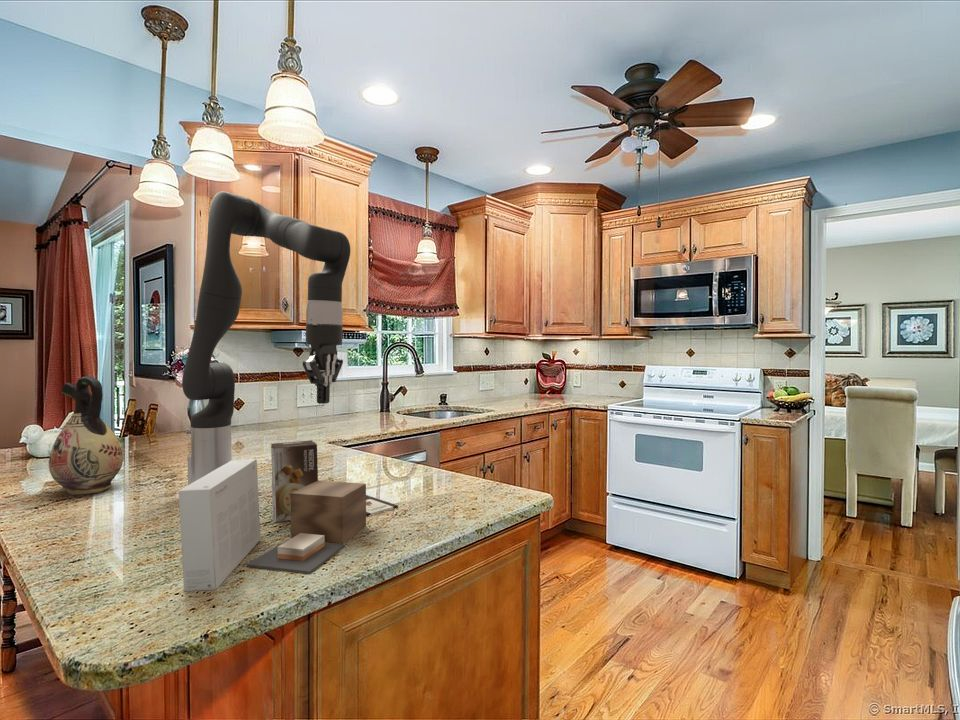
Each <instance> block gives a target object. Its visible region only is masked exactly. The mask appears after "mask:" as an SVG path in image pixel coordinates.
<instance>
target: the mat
mask: <svg viewBox="0 0 960 720" xmlns="http://www.w3.org/2000/svg"><path fill="white" fill-rule="evenodd" d="M290 539H291V538H288V539H286V540H284V541H283V542H281V543H279V544H278V545H276V546H274V547H273V548H270V549H269V550H267V551H266V552H264V553H263V554H261V555H259V556H257V557H256V558H255V559H253V560H250V561H249V562H248V563H247V564H246V565H245V566H246V567H247V568H257V569H265V570H275V571H282V572H283V571H284V572H290V573H292V572H293V573H301V574H308V575H309V574H312V573H313V572H314V571H315V570H317V569H318V568H319V567H320V566H322V565H324V563H326V562H327V561H329V560H330V559H331V558H332V557H334V556H335V555H336V554H337V553H339V552H340V551H341V550H343V549H344V548H345V547H346V545H345V543H344V544H334V543H325V546H324V547H322V548H321V549H320V550H318V551H317V552H315V553H314V554H312V555H311V556H310V557H308V558H307V559H305V560H304V561H299V560H290V559H281V558H278V546H280V545H282V544H283V543H285V542H287V541H288V540H290Z"/></svg>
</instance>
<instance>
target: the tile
mask: <svg viewBox="0 0 960 720" xmlns="http://www.w3.org/2000/svg"><path fill="white" fill-rule="evenodd" d="M289 539H290V540H288V541H287V542H285V543H283V544H282V545H280V546H278V545H277V546H278V558H281V559H290V560H299V561H304V560H305V559H307V558H308V557H310V556H311V555H312V554H314V553H315V552H317V551H318V550H320V549H321V548H322V547H324V546H325V535H316V534H305V533H300V534H298V535H296V536H295V537H293V538H291V537H290V538H289Z"/></svg>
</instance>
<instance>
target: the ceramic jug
mask: <svg viewBox="0 0 960 720" xmlns="http://www.w3.org/2000/svg"><path fill="white" fill-rule="evenodd" d="M89 388H90V389H89ZM89 390H90V391H89ZM103 393H104V392H103V385H102V383H101V381H100V380H99V379H97V378H95V377H94V376H91V375H85V376H82V377H80V378H78V379H77V381H76V384H75V385H74V384H73V383H71V382H66V383H64V385H63V386H61V394H63V395H65V396H67V397H70V398H72V399H73V400H74V402H75V403H74V411H73V412H72V415H71V417H70V418H69V419H68V420H67V422H66V423H65V424H64V426H63V427H62V429H61V431H60V432H59V434H57V437H56V438H55V441H54V442H53V445H52V447H51V450H50V455H49V460H48V470H49V473H50V476H51V477H52V479H53V480H54V481H55V482H56V483H58V484H59V485H60V486H61V487H62V488H63V489H64V490H65V491H66V493H67V494H68V495H70V496H71V495H73V496H75V495H88V494H94V493H101V492H103V491H105V490H108V489H110V488H111V487H112V481H113V479H115V477H117V475H118V474H119V472H121V471H120V470H121V469H122V467H123V463H124V454H123V450H122V449H123V448H122V446H121V443H120V441H119V439H118V437H117V436H116V434H115V433H114V432H113V430H112V429H111V428H110V427H109V425H108V424H107V422H105V421H103V420H102V417H101V411H102V403H103V397H104V396H103V395H104V394H103Z"/></svg>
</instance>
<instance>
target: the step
mask: <svg viewBox="0 0 960 720" xmlns="http://www.w3.org/2000/svg"><path fill="white" fill-rule="evenodd" d="M366 495H367V483H364V482H363V483H361V482H346V481H345V482H344V481H343V482H342V481H332V480H331V481H330V480H318V481H316V482H314V483H312V484H310V485H307V486H305V487H303V488H301V489H299V490H297V491H295V492H292V493H291V520H290V539H291V538H293V537H295V536H296V535H298V534H300V533H305V534H316V535H325V543H333V544H344V545H345V544H346V542H348V541H349V540H350V539H352V538H353V537H354V536H356V535H357V534H359V533H360V532H361V531H362V530H364V529H365V528H367V517H366Z"/></svg>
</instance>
